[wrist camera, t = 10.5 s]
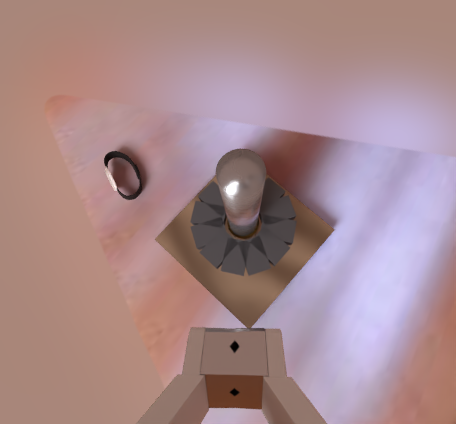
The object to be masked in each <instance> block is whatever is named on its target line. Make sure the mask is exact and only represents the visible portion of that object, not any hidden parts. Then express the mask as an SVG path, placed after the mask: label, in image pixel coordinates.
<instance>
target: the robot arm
mask: <svg viewBox="0 0 456 424" xmlns="http://www.w3.org/2000/svg"><path fill="white" fill-rule="evenodd" d="M209 408H245V409H262V412H263V414H264V416H265V418H266V419H267V421H268V423H269V424H327V423H326V422H325V420H324V419H323V418H322V416H321V415H320V414H319V412H318V411H317V410H316V409H315V407H314V406H313V405H312V403H311V402H310V401H309V399H308V398H307V397H306V395H305V394H304V393H303V391H302V390H301V389H300V388H299V386H298V385H297V384H296V382H295V381H294V380H293V378H292V377H287V374H286V365H285V357H284V349H283V341H282V333H281V330H280V329H265V328H235V329H225V328H196V327H191V329H190V331H189V336H188V342H187V348H186V354H185V359H184V365H183V371H182V375H177V376H176V377H175V378H174V379H173V380H172V382H171V383H170V384H169V385H168V386H167V388H166V389H165V390H164V391H163V392H162V394H161V395H160V396H159V397H158V398H157V400H156V401H155V402H154V403H153V404H152V405H151V407H150V408H149V409H148V410H147V412H146V413H145V414H144V415H143V416H142V417H141V419H140V420H139V421H138V422H137V423H136V424H201V422H202V420H203V419H204V417H205V415H206V414H207V412H208V410H209Z"/></svg>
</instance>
